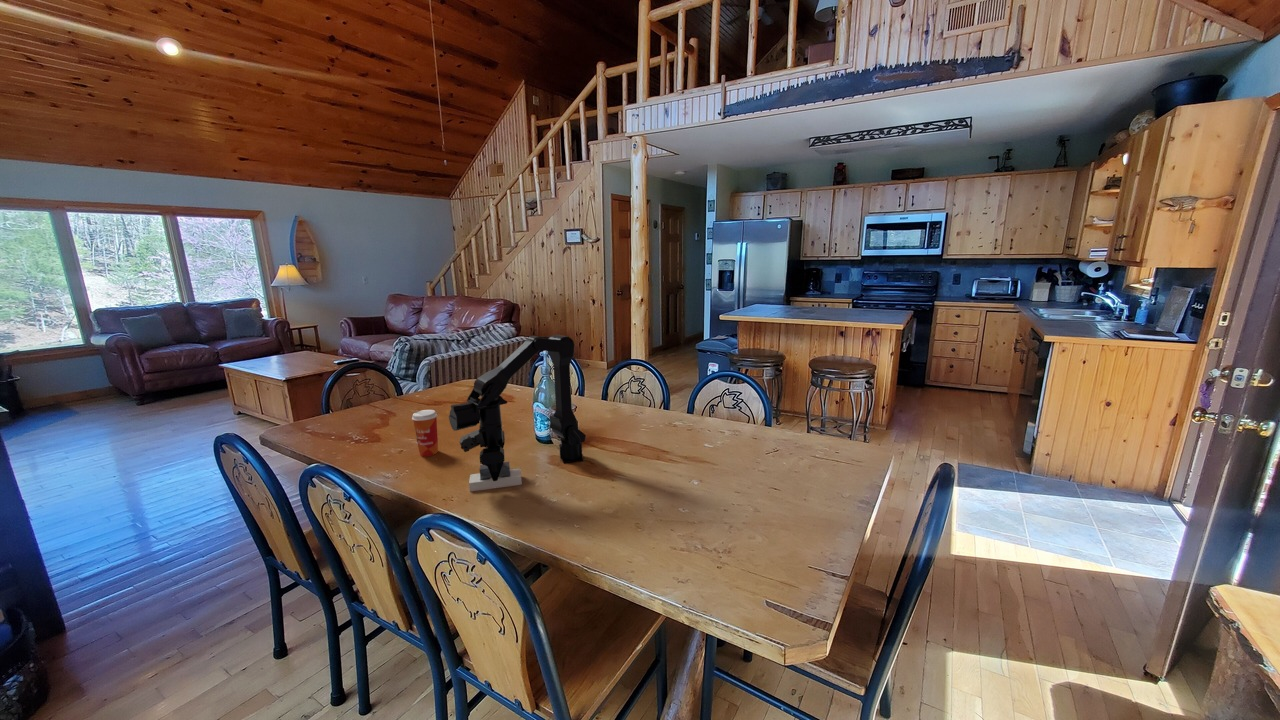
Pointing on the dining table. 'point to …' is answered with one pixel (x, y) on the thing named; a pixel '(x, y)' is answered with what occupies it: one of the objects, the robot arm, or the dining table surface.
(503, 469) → the dark grey blocky piece
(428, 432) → the paper cup
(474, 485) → the rail
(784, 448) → the dining table surface
